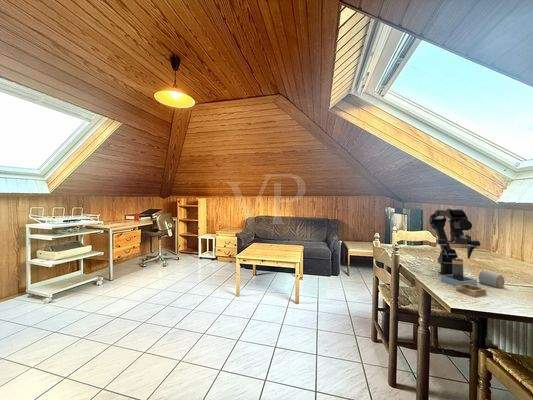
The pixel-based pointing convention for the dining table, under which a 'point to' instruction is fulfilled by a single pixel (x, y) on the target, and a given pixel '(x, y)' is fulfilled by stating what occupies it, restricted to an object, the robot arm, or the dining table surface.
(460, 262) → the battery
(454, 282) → the tray
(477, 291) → the brown wooden square box
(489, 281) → the grey cylinder
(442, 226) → the robot arm
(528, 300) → the dining table surface
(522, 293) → the dining table surface
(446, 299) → the dining table surface
